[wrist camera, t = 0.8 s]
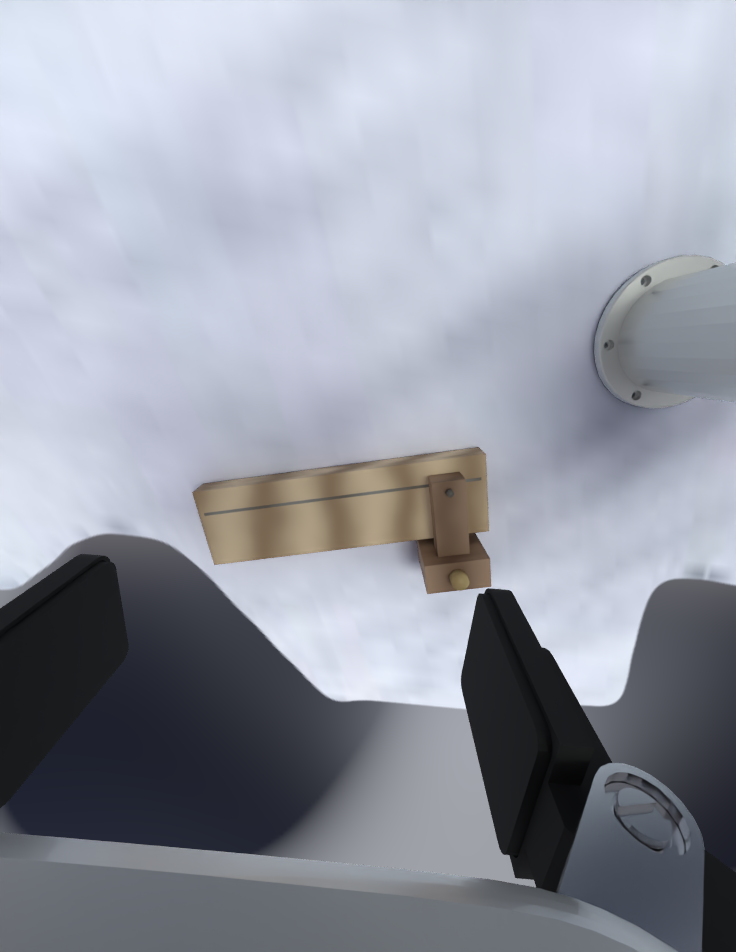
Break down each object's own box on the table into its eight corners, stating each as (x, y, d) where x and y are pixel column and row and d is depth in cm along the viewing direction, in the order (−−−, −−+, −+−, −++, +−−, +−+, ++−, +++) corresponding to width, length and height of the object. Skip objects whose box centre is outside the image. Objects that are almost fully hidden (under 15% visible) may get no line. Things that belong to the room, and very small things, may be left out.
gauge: (468, 462, 38) (490, 485, 31) (474, 557, 41) (494, 597, 35) (409, 469, 38) (417, 495, 31) (419, 564, 42) (429, 605, 35)
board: (478, 447, 37) (485, 453, 35) (481, 520, 40) (488, 531, 37) (203, 483, 39) (192, 492, 36) (223, 552, 41) (214, 564, 39)
